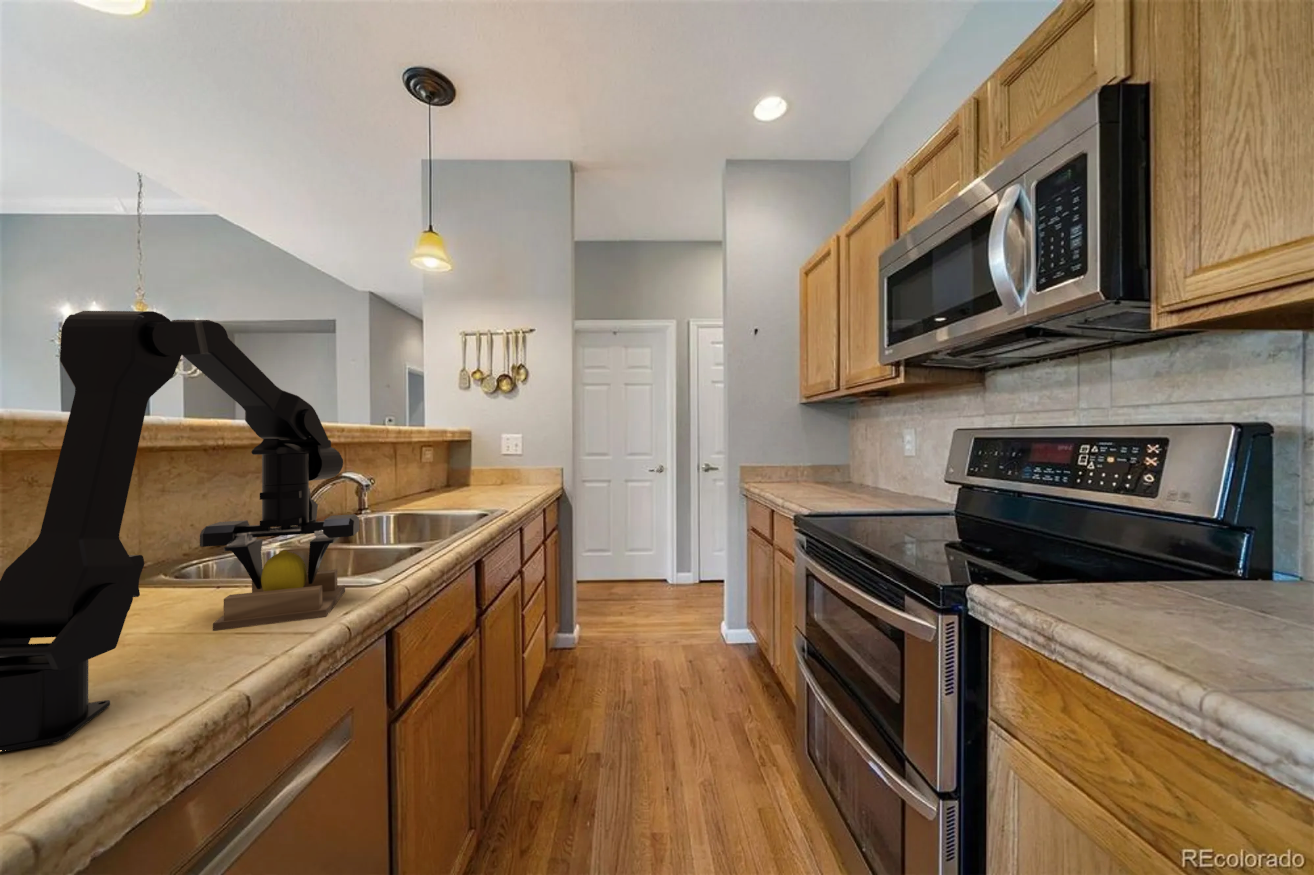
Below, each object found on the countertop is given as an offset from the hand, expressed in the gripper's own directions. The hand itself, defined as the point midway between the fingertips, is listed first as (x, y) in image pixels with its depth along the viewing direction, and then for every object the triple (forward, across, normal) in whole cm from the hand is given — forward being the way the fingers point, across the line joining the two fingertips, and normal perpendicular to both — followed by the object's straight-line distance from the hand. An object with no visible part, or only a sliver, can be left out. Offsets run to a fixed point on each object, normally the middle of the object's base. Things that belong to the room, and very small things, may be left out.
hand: (286, 585), depth 74 cm
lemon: (+3, 0, 0) cm, 3 cm away
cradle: (+4, 0, 0) cm, 4 cm away
